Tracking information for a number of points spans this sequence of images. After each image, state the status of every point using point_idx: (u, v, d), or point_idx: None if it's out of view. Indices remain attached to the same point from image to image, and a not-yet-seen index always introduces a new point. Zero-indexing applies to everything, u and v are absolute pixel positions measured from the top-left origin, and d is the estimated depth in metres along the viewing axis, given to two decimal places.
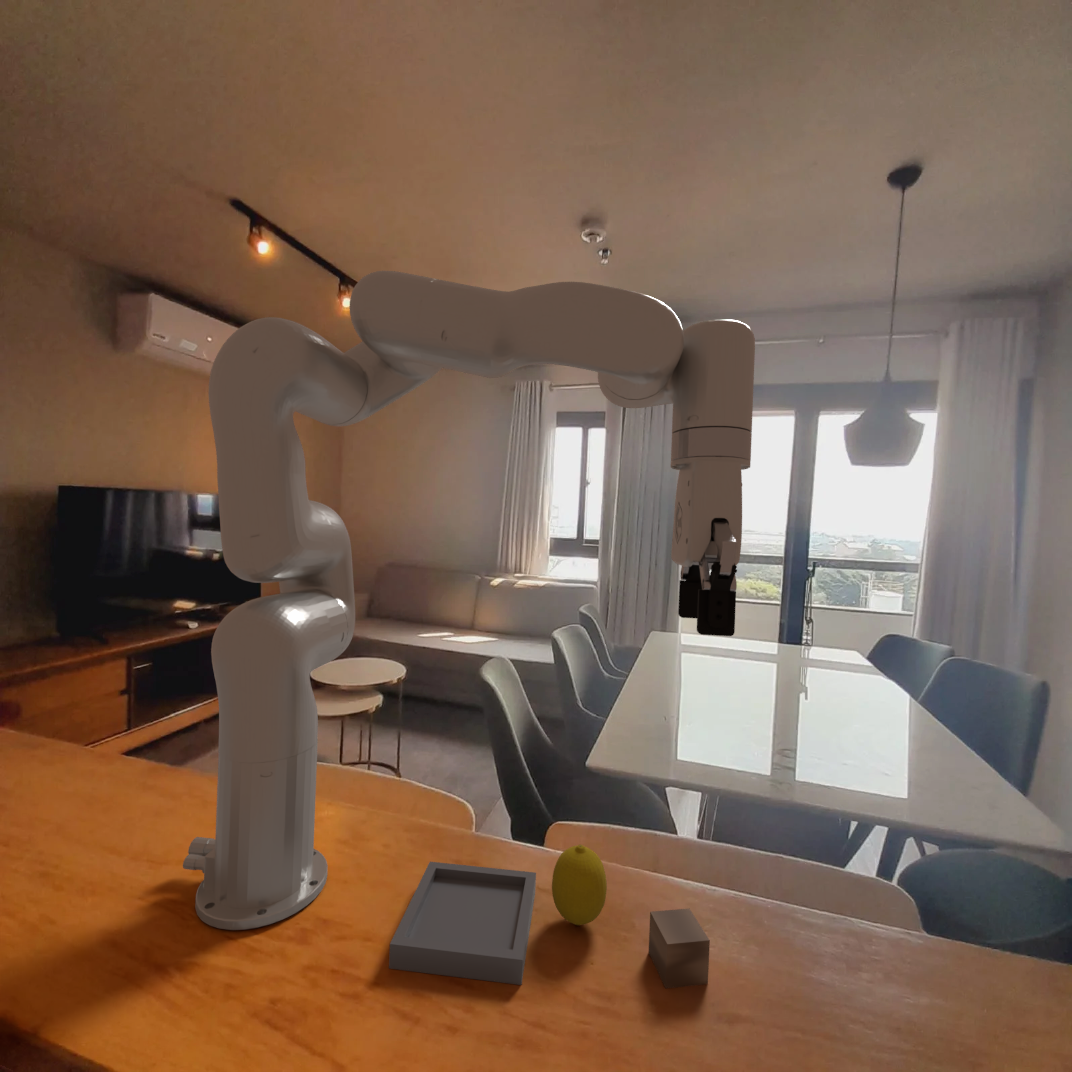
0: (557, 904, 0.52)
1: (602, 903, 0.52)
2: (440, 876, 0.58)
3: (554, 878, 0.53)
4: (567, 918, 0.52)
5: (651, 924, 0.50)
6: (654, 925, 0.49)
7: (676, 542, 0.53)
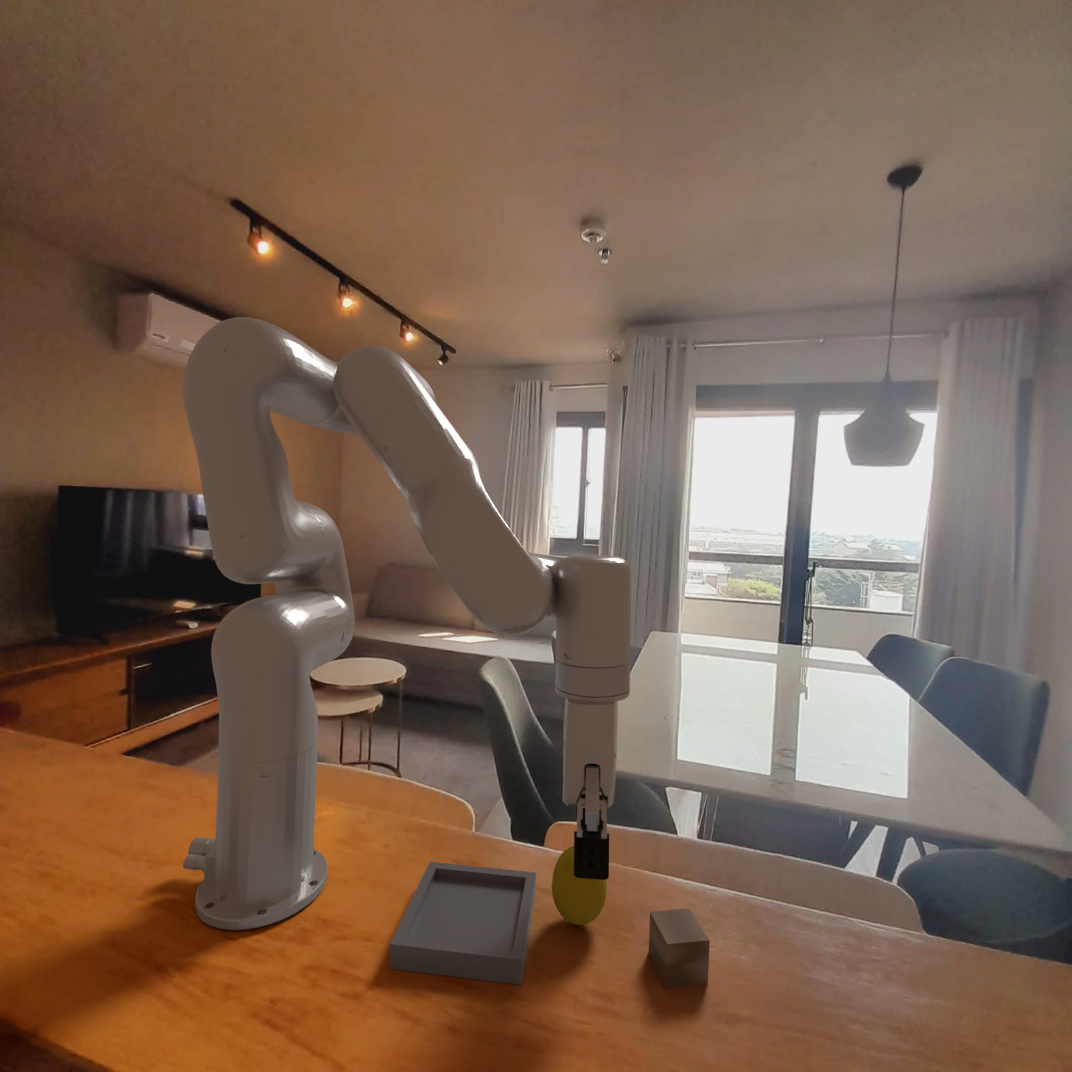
0: (557, 904, 0.52)
1: (602, 903, 0.52)
2: (440, 876, 0.58)
3: (554, 878, 0.53)
4: (567, 918, 0.52)
5: (651, 924, 0.50)
6: (654, 925, 0.49)
7: None
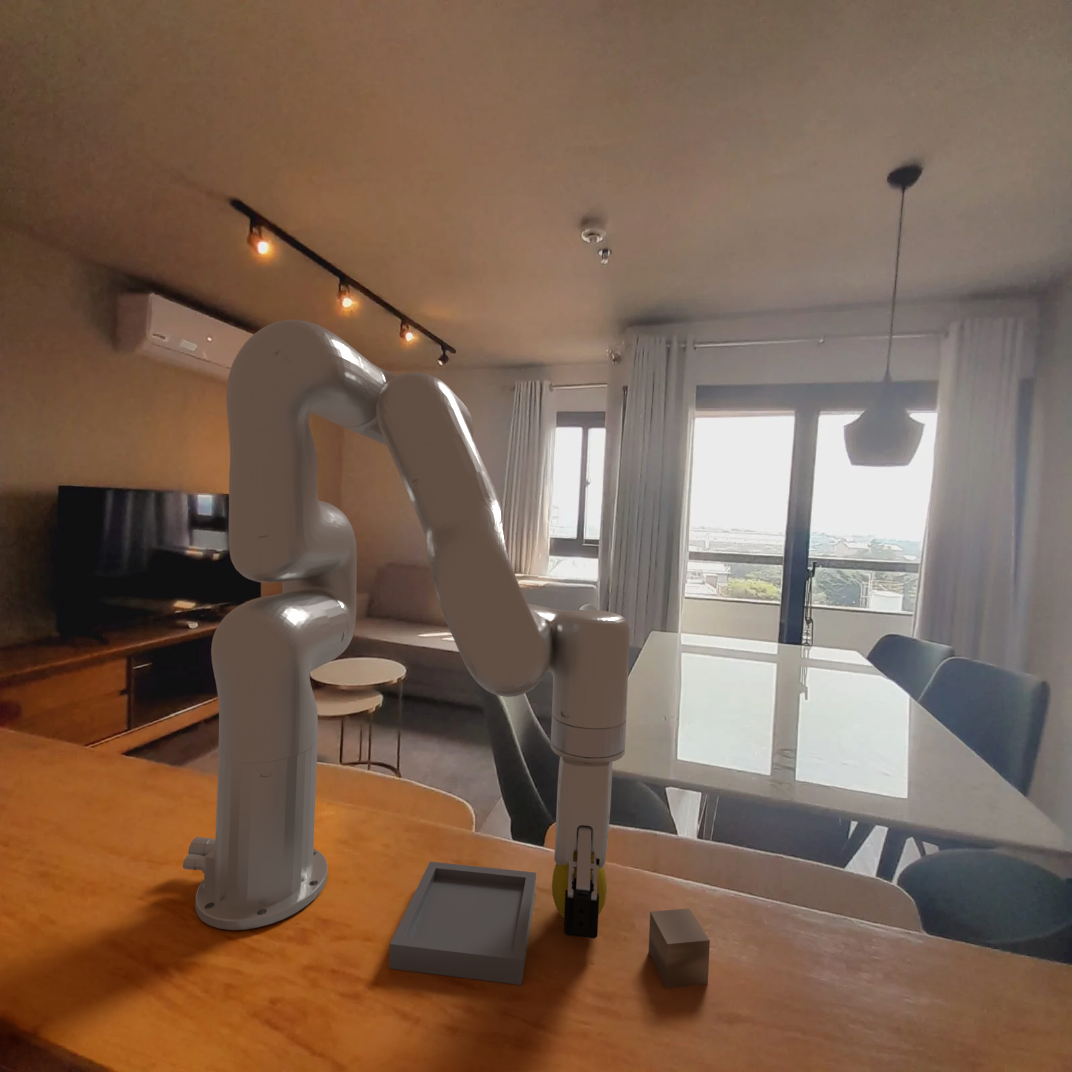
0: (558, 904, 0.52)
1: (602, 903, 0.52)
2: (440, 876, 0.58)
3: (554, 878, 0.53)
4: None
5: (651, 924, 0.50)
6: (654, 925, 0.49)
7: None
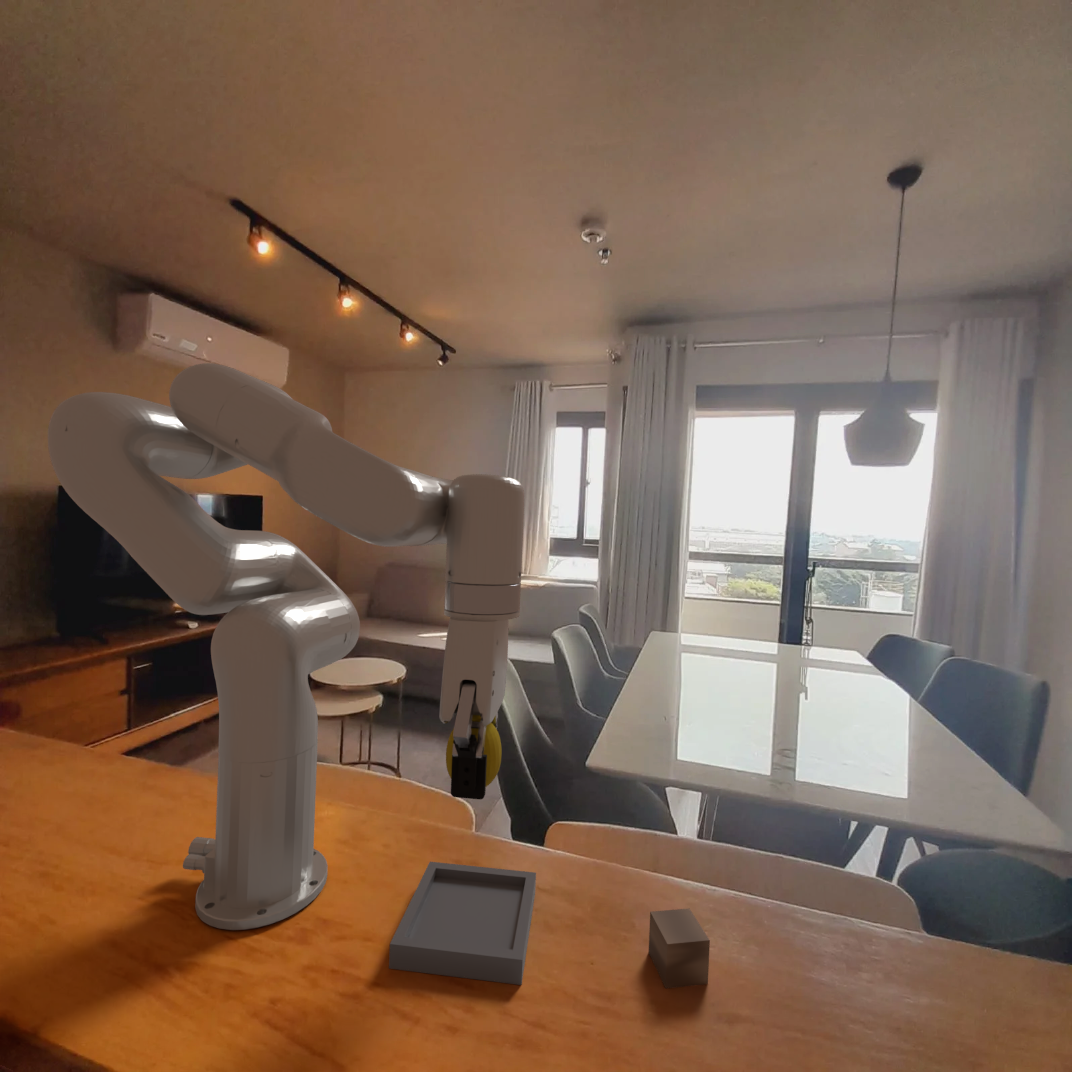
0: (449, 769, 0.51)
1: (494, 768, 0.51)
2: (440, 876, 0.58)
3: (447, 745, 0.52)
4: None
5: (651, 924, 0.50)
6: (654, 925, 0.49)
7: None
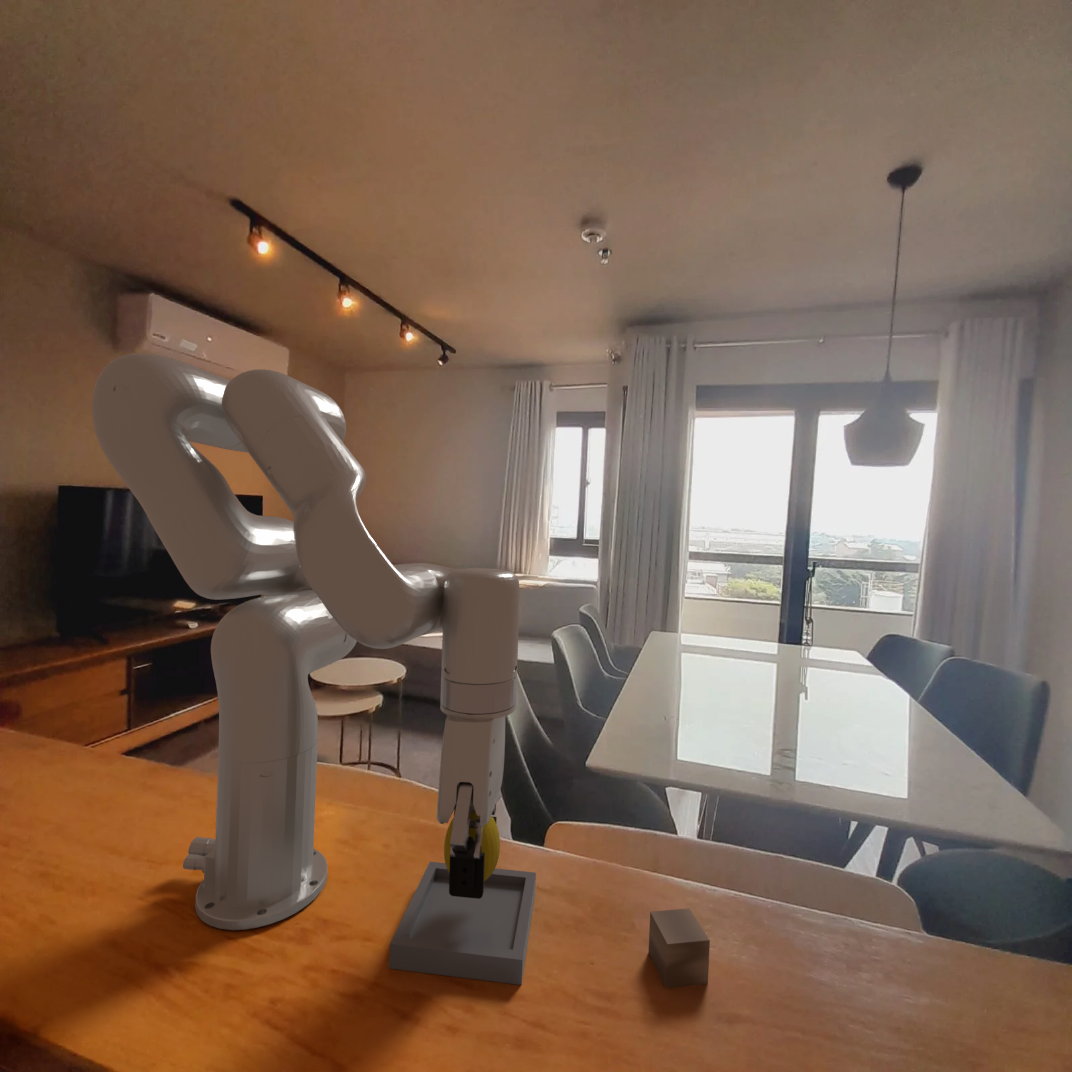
0: (447, 865, 0.51)
1: (492, 863, 0.51)
2: (440, 876, 0.58)
3: (445, 839, 0.52)
4: None
5: (651, 924, 0.50)
6: (654, 925, 0.49)
7: None
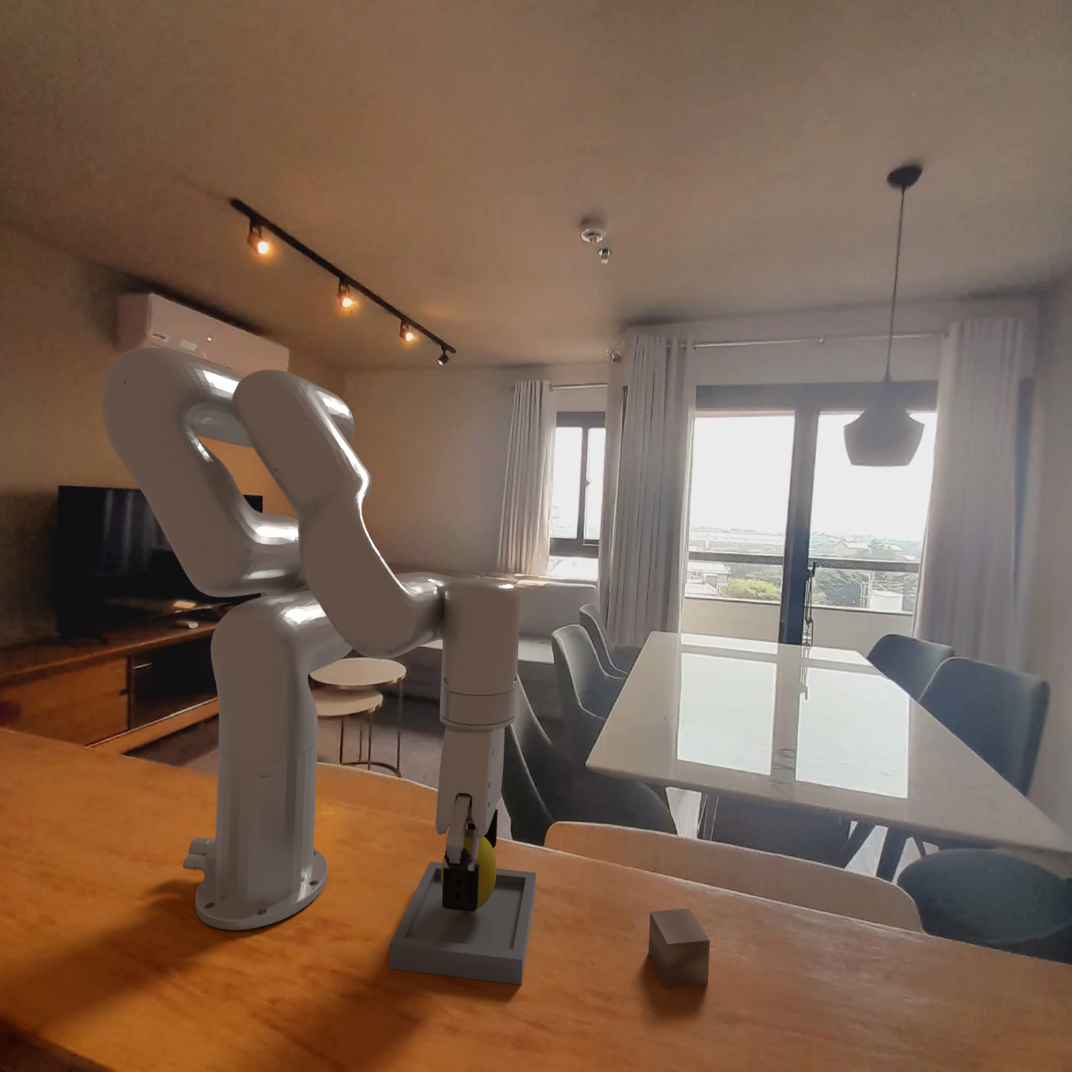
0: None
1: (489, 890, 0.51)
2: (440, 876, 0.58)
3: (442, 864, 0.52)
4: None
5: (651, 924, 0.50)
6: (654, 925, 0.49)
7: None
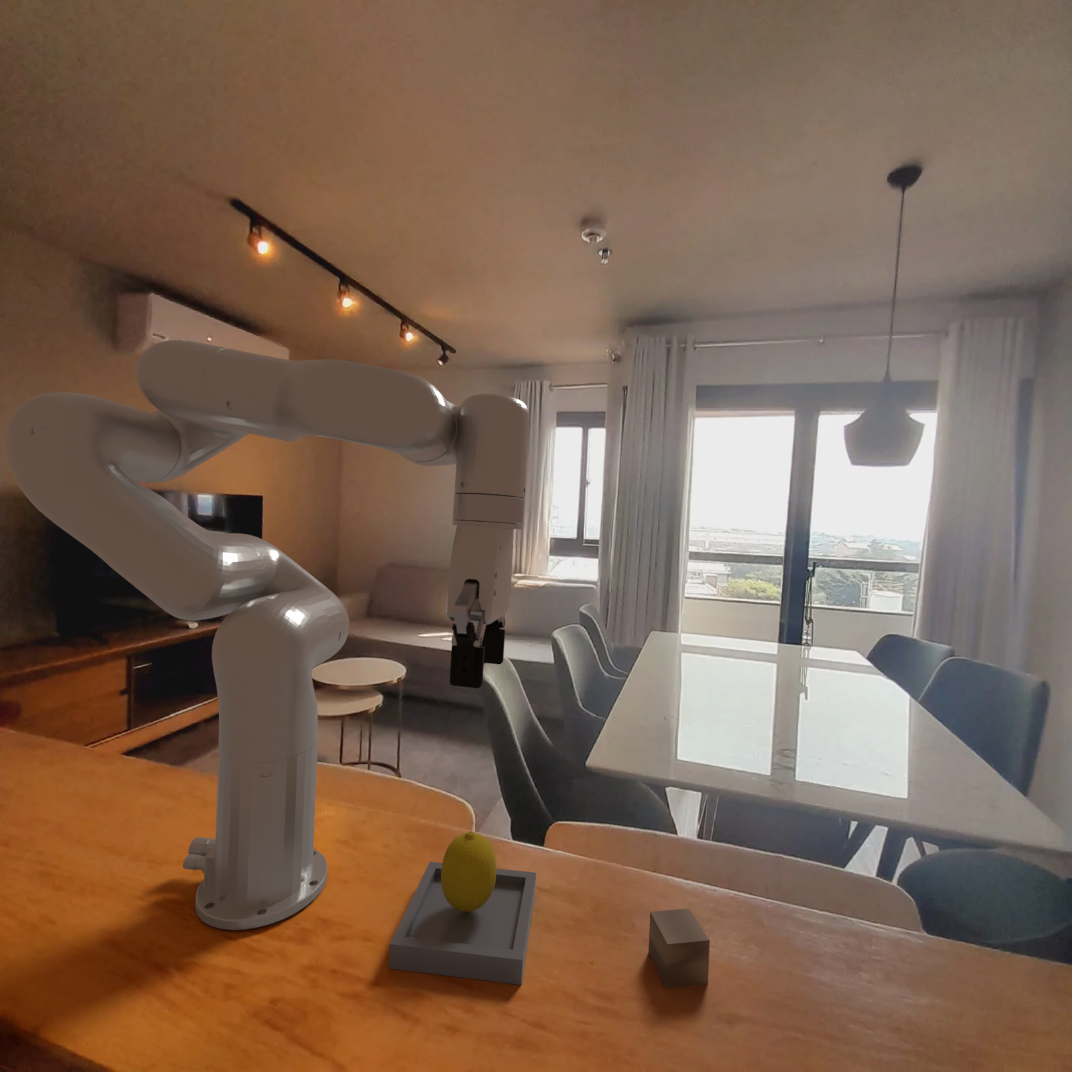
0: (444, 891, 0.52)
1: (489, 890, 0.51)
2: (440, 876, 0.58)
3: (442, 865, 0.52)
4: (452, 905, 0.51)
5: (651, 924, 0.50)
6: (654, 925, 0.49)
7: None
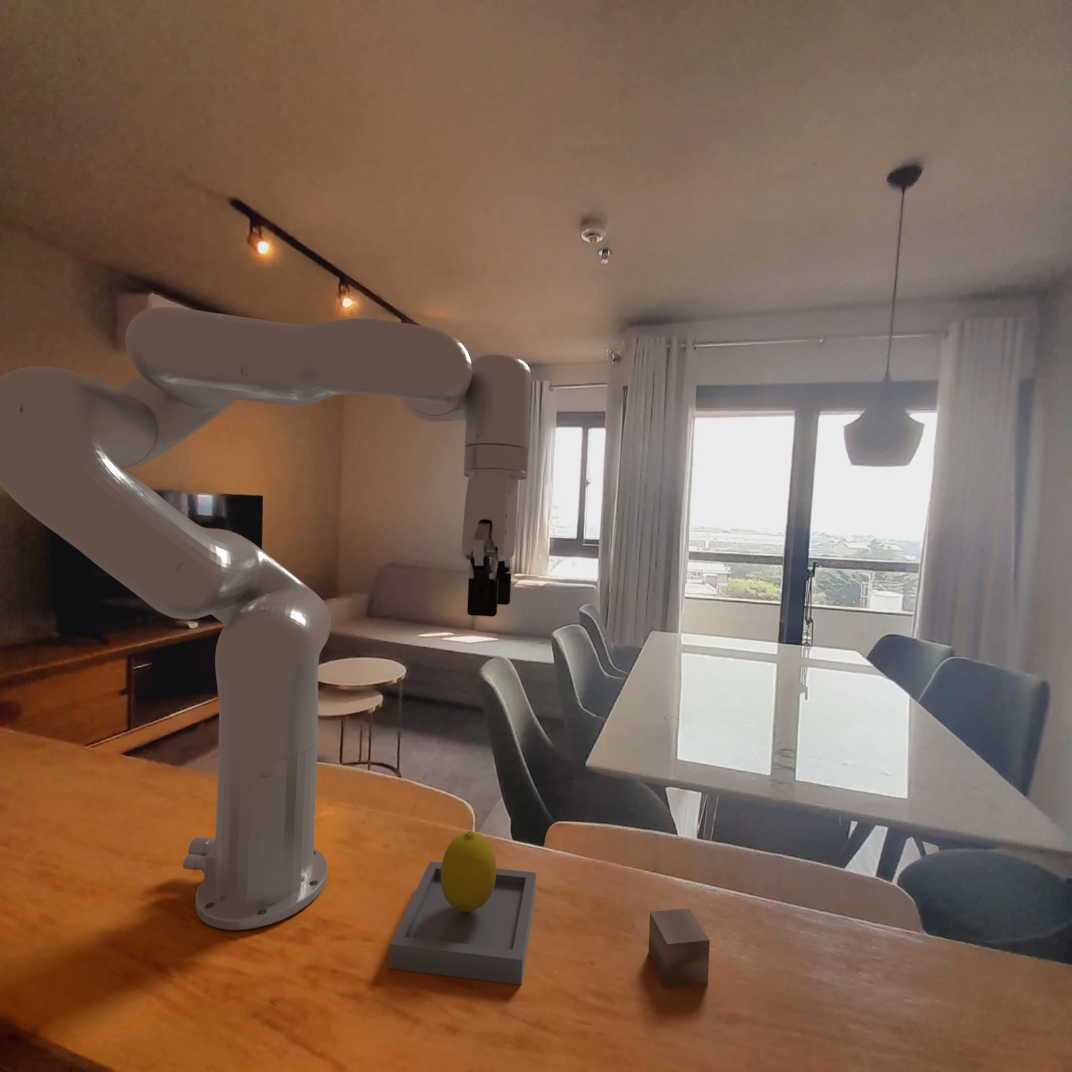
0: (444, 891, 0.52)
1: (488, 890, 0.51)
2: (440, 876, 0.58)
3: (442, 865, 0.52)
4: (452, 905, 0.51)
5: (651, 924, 0.50)
6: (654, 925, 0.49)
7: None
